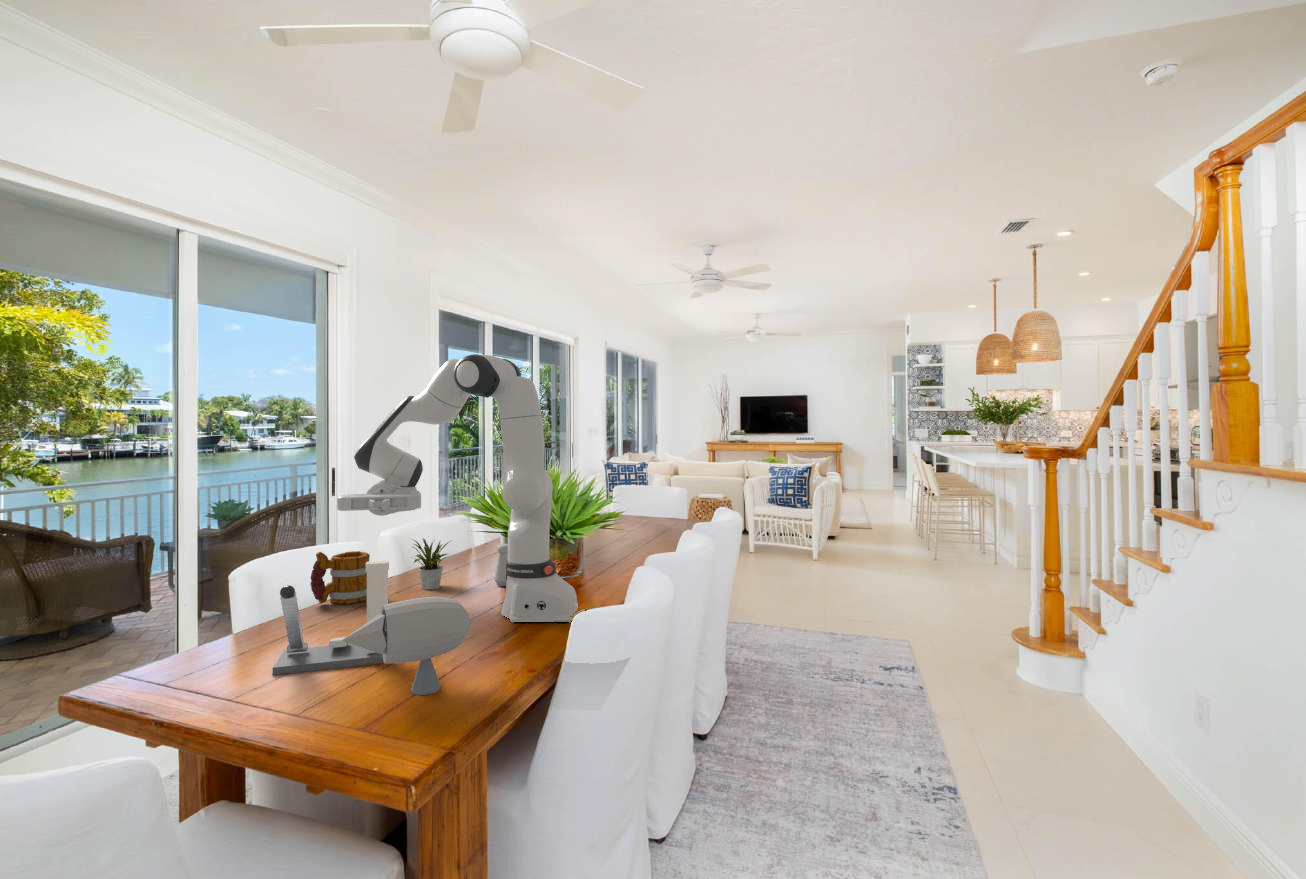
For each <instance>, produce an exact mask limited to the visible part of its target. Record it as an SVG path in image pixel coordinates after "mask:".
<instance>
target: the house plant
mask: <svg viewBox="0 0 1306 879" xmlns="http://www.w3.org/2000/svg"><path fill="white" fill-rule="evenodd" d="M434 538H435V536H433V537H432V540H431V543H430V546H429V545H428V542H427V540H426V539H425V538H424V537H422V538H421V540H422V542H423V544H424V547H423V548H422V546H421V544H420V543H419V542H418V541H417V540H415V539H413V538H412V539H411V538H410V540H412V541H413V542H415V543H413V545H414V546H415V547H414V546H412V548H413V549H415V550H416V552H418V553H419V554H416V555H415V557H417V558H415V557H414V559H415V560H414V561H413V565H414V563H416V562H417V563H418V562H419V563H420V564H421V565H422V566H419V567H418V574H419V580H420V585H421V589H422V590H425V589H432V590H437V589H439V588H440V587H441V579H442V573H443V568H444V567H443V565H440V563H441V562H442V561H443V560H444V559H447V558H448V556H447V555H448V553H442V554H440V553H441V552H442V550H443V549H444V548H445V547H446V546H447V545H448V544H449V543H451V542H453V540H452V539H451V540H449V541H448V542H445V544H441V539H440V540H439V542H438V544H437V545H436V548H435V550H434V551H433V550H432V549H433V543H434V542H435V541H436V539H437V538H436V539H434ZM433 539H434V540H433ZM416 547H417V548H416ZM418 549H419V550H418ZM432 551H433V552H432ZM421 552H422V553H421ZM442 557H443V558H442ZM408 558H411V559H412V558H413V557H408ZM441 558H442V559H441ZM420 560H421V561H422V562H423V563H422V562H421V561H420Z"/></svg>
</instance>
